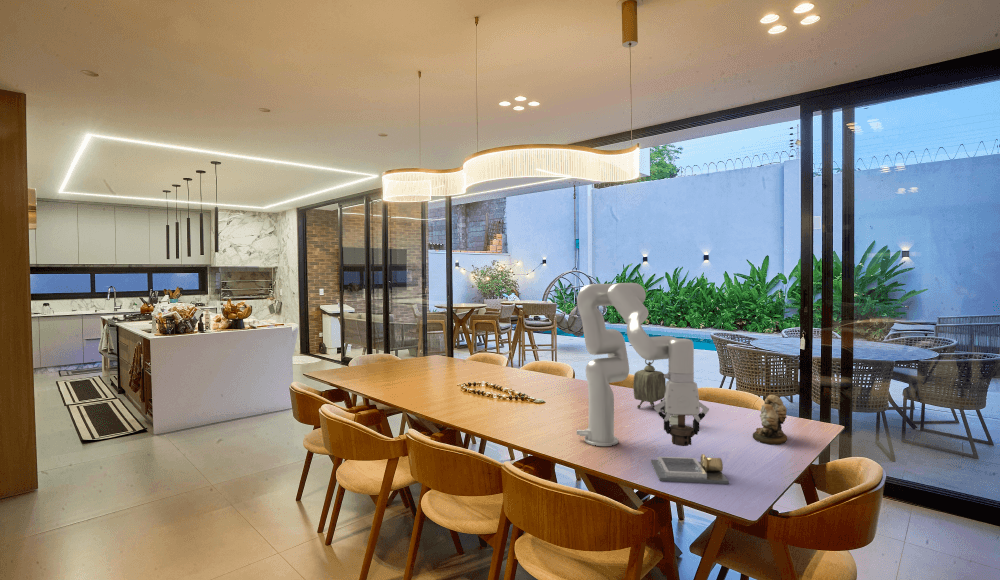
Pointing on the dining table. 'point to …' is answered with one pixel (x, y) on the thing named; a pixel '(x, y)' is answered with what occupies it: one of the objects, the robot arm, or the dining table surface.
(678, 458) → the mounting plate
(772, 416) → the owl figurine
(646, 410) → the dining table surface
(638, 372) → the tabletop clock
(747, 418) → the dining table surface
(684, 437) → the industrial component
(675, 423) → the pneumatic valve
